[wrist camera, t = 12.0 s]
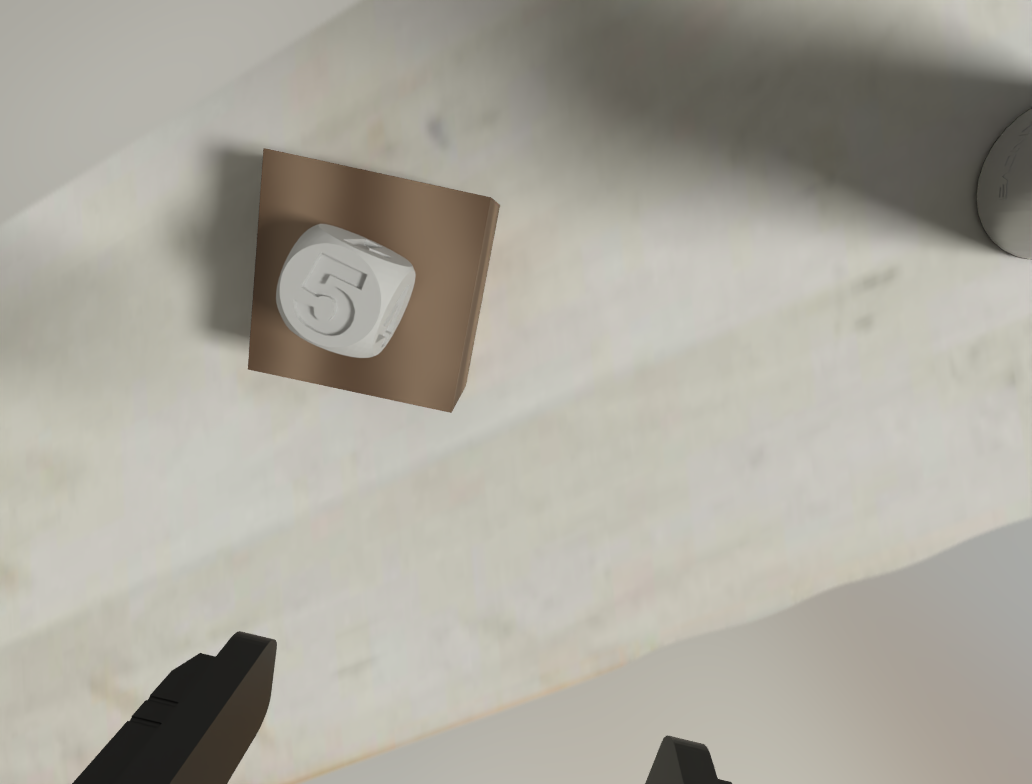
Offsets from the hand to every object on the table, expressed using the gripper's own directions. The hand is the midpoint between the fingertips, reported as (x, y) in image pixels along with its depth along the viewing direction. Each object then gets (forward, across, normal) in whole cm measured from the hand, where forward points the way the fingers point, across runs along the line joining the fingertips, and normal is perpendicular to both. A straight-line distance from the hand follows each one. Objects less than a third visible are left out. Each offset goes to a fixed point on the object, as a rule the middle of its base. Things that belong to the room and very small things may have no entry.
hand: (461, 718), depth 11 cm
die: (+21, +10, -5) cm, 24 cm away
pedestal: (+27, +10, -4) cm, 29 cm away
